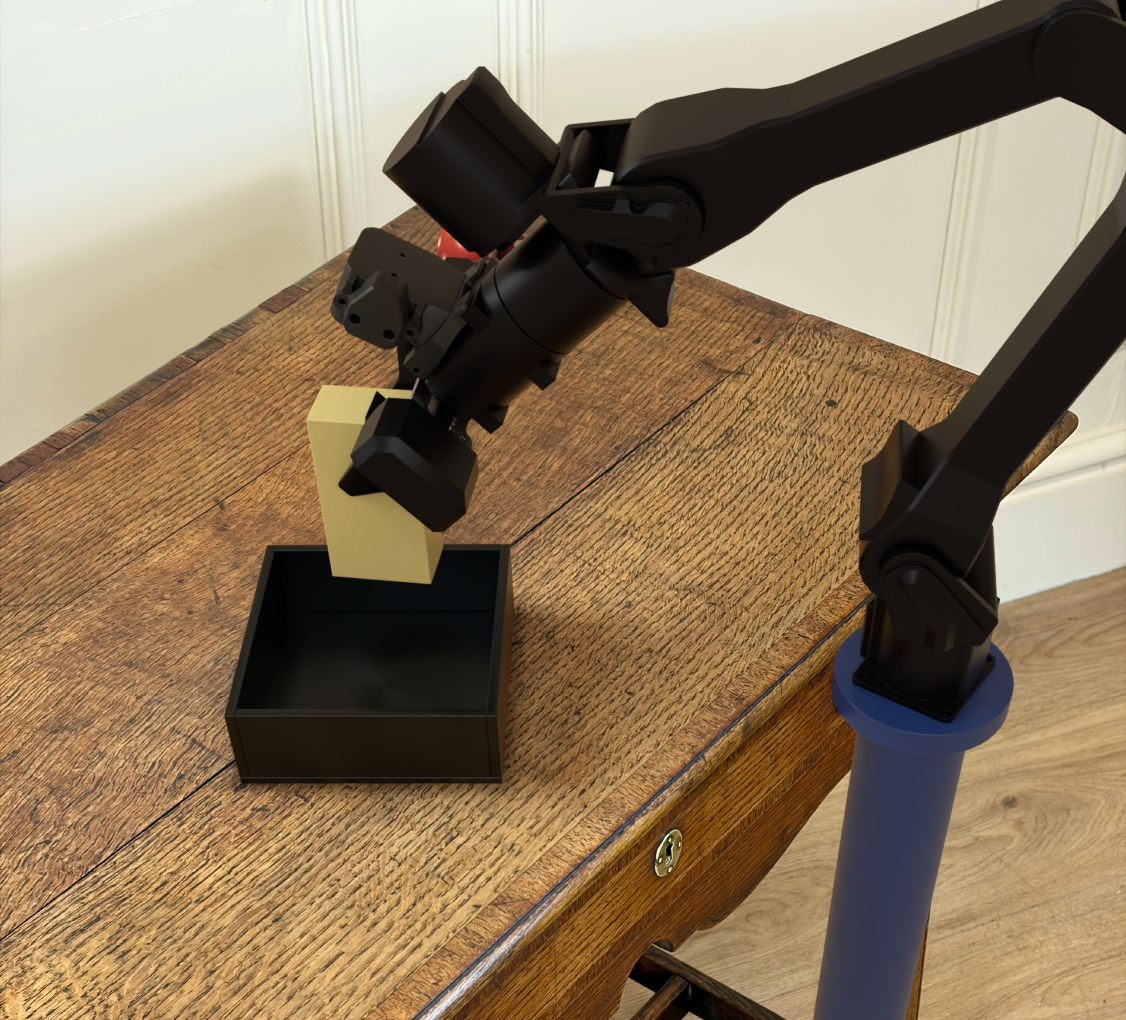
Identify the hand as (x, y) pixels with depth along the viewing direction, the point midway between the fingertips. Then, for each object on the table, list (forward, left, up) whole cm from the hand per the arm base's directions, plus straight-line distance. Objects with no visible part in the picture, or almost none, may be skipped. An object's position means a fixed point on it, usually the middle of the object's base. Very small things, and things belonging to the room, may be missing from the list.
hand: (353, 469), depth 90 cm
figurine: (+20, -40, -14) cm, 47 cm away
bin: (-3, +3, -14) cm, 14 cm away
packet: (-1, -1, -7) cm, 7 cm away
